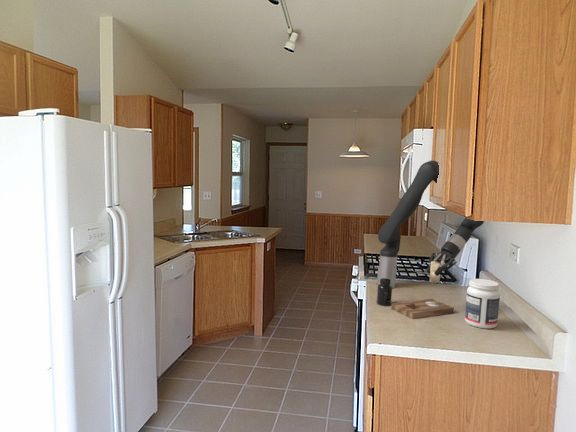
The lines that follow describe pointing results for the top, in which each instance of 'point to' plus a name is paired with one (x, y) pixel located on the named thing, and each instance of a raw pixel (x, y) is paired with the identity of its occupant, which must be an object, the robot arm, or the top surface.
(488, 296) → the supplement tub
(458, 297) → the top surface
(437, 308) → the walnut board
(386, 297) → the supplement bottle
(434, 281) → the birch peg
